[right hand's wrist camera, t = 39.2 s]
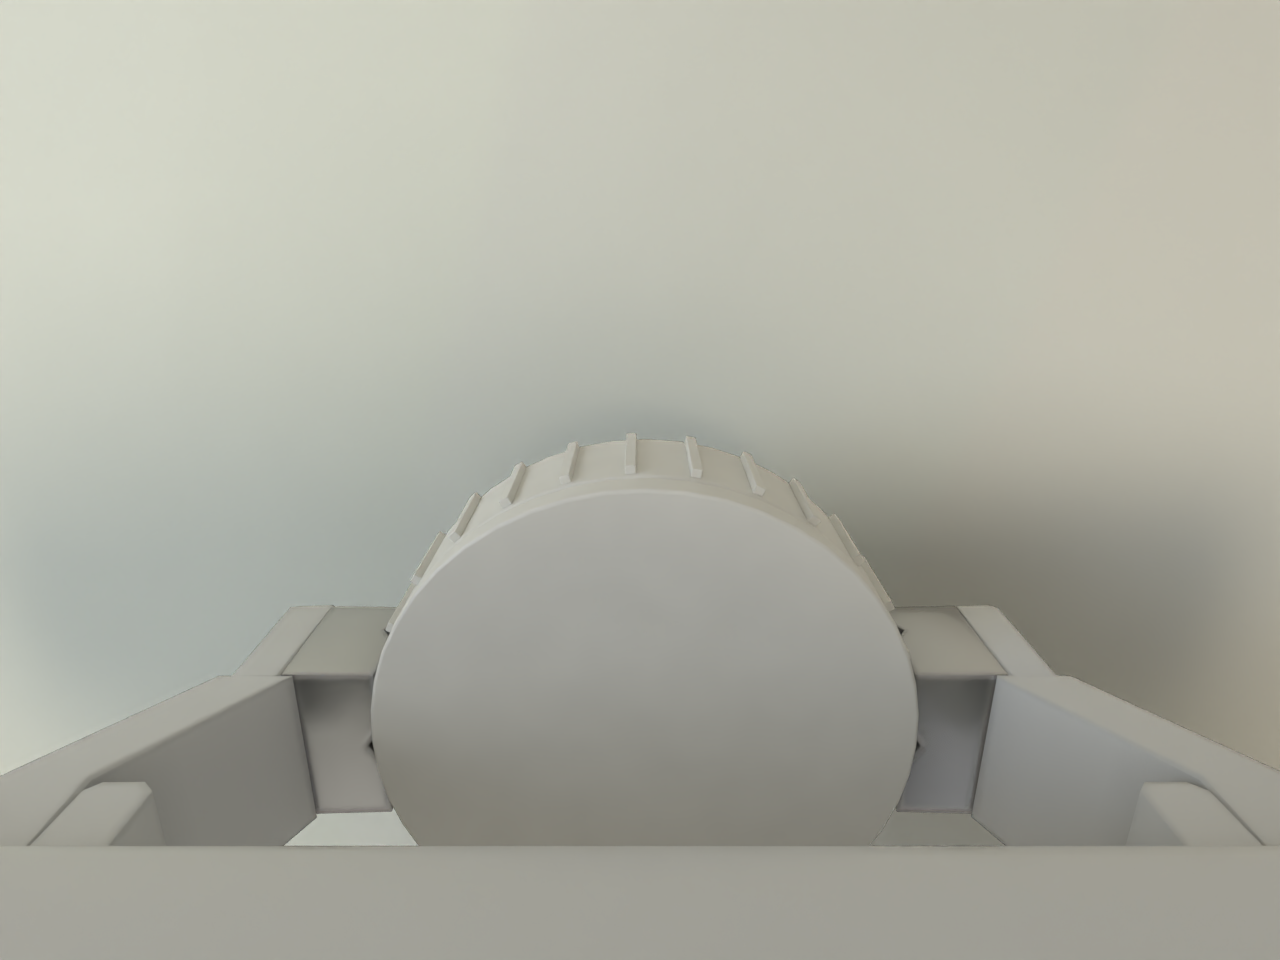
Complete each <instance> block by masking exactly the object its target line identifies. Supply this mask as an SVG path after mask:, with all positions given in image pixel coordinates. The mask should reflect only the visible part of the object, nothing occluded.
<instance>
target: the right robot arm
mask: <svg viewBox="0 0 1280 960" xmlns="http://www.w3.org/2000/svg"><path fill="white" fill-rule="evenodd" d="M396 608H397V607H358V606H337V607H335V606H333V605H323V606H297V607H290V608H289V609H288V611H287V612H286V613H285V614H284V615H283V616H282V618H281V619H280V620H279V621H278V622H277V623H276V625H275V626H274V627H273V628H272V629H271V631H270V632H269V633H268V634H267V635H266V636H265V638H264V639H263V640H262V641H261V642H260V643H259V645H258V646H257V647H256V648H255V649H254V651H253V652H252V653H251V654H250V655H249V656H248V658H247V659H246V660H245V661H244V662H243V663H242V665H241V666H240V667H239V668H238V669H237V670H236V672H235V673H234V674H233V675H232V676H217V677H215V678H213V679H211V680H209V681H206V682H204V683H202V684H200V685H198V686H195V687H193V688H191V689H189V690H187V691H185V692H182V693H180V694H178V695H176V696H174V697H171V698H169V699H167V700H165V701H163V702H161V703H158V704H156V705H154V706H152V707H150V708H147V709H145V710H143V711H141V712H139V713H137V714H134V715H132V716H130V717H128V718H126V719H123V720H121V721H119V722H117V723H115V724H113V725H110V726H108V727H106V728H104V729H102V730H99V731H97V732H95V733H93V734H91V735H89V736H86V737H84V738H82V739H80V740H78V741H75V742H73V743H71V744H69V745H67V746H65V747H62V748H60V749H58V750H56V751H54V752H51V753H49V754H47V755H45V756H43V757H41V758H38V759H36V760H34V761H32V762H30V763H27V764H25V765H23V766H21V767H19V768H17V769H14V770H12V771H10V772H8V773H6V774H3V775H1V776H0V960H1280V771H1278V770H1276V769H1274V768H1272V767H1270V766H1267V765H1265V764H1263V763H1261V762H1259V761H1256V760H1254V759H1252V758H1250V757H1248V756H1245V755H1243V754H1241V753H1239V752H1237V751H1234V750H1232V749H1230V748H1228V747H1226V746H1223V745H1221V744H1219V743H1217V742H1215V741H1212V740H1210V739H1208V738H1206V737H1204V736H1201V735H1199V734H1197V733H1195V732H1193V731H1190V730H1188V729H1186V728H1184V727H1182V726H1179V725H1177V724H1175V723H1173V722H1171V721H1169V720H1166V719H1164V718H1162V717H1160V716H1158V715H1155V714H1153V713H1151V712H1149V711H1147V710H1144V709H1142V708H1140V707H1138V706H1136V705H1133V704H1131V703H1129V702H1127V701H1125V700H1122V699H1120V698H1118V697H1116V696H1114V695H1111V694H1109V693H1107V692H1105V691H1103V690H1100V689H1098V688H1096V687H1094V686H1092V685H1089V684H1087V683H1085V682H1083V681H1081V680H1078V679H1076V678H1074V677H1072V676H1057V675H1056V674H1055V673H1054V672H1053V671H1052V669H1051V668H1050V667H1049V666H1048V665H1047V664H1046V663H1045V661H1044V660H1043V659H1042V658H1041V657H1040V656H1039V655H1038V653H1037V652H1036V651H1035V650H1034V649H1033V648H1032V646H1031V645H1030V644H1029V643H1028V642H1027V641H1026V640H1025V638H1024V637H1023V636H1022V635H1021V634H1020V633H1019V632H1018V630H1017V629H1016V628H1015V627H1014V626H1013V625H1012V623H1011V622H1010V621H1009V620H1008V619H1007V618H1006V617H1005V615H1004V614H1003V613H1002V612H1001V611H1000V610H999V609H998V608H996V607H993V606H991V605H980V606H957V607H955V606H933V607H895V609H894V610H892V611H889V613H890V615H891V617H892V618H893V620H894V622H895V623H896V625H897V628H898V630H899V632H900V635H901V637H902V639H903V641H904V643H905V645H906V647H907V648H908V650H909V652H910V657H911V659H910V661H911V665H912V669H913V673H914V677H915V681H916V687H917V699H918V711H919V718H918V731H917V744H916V749H915V753H914V758H913V762H912V766H911V770H910V775H909V777H908V780H907V782H906V785H905V787H904V790H903V792H902V795H901V797H900V800H899V802H898V804H897V806H896V807H895V808H896V811H897V812H933V813H970V814H972V816H971V817H972V818H973V819H975V820H976V821H977V822H978V823H979V824H981V825H982V826H983V827H984V828H985V829H986V830H988V831H989V832H990V833H991V834H992V835H994V836H995V837H996V838H997V839H998V840H1000V841H1001V842H1002V843H1003V844H1004V845H1005V846H284V845H285V844H286V843H287V842H288V841H290V840H291V839H292V838H293V837H294V836H295V835H297V834H298V833H299V832H300V831H301V830H303V829H304V828H305V827H306V826H307V825H308V824H310V823H311V822H312V821H313V820H314V819H315V818H317V815H316V814H318V813H354V812H389V811H392V809H393V806H392V804H391V802H390V800H389V798H388V795H387V793H386V790H385V787H384V785H383V782H382V779H381V777H380V774H379V771H378V766H377V762H376V757H375V752H374V747H373V743H372V728H371V702H372V693H373V684H374V678H375V674H376V671H377V667H378V663H379V660H380V656H381V652H382V649H383V647H384V645H385V643H386V641H387V638H388V636H389V634H390V632H388V631H386V627H387V624H388V622H389V620H390V619H391V617H392V615H393V614H394V612H395V610H396Z"/></svg>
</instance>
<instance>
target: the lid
mask: <svg viewBox="0 0 1280 960" xmlns="http://www.w3.org/2000/svg"><path fill="white" fill-rule="evenodd" d="M410 582H411V584H410V586H409V588H408V589H407V591H406V593H405V595H404V596H403V598H402V600H401V602H400V603H399V605H398V607H397V608H396V610H395V612H394V614H393V615H392V617H391V619H390V620H389V622H388V624H387V627H386V631H388V632H390V634H389V636H388V638H387V641H386V643H385V645H384V647H383V649H382V652H381V656H380V660H379V663H378V667H377V671H376V674H375V678H374V684H373V693H372V702H371V728H372V743H373V747H374V752H375V757H376V762H377V766H378V771H379V774H380V777H381V779H382V782H383V785H384V787H385V790H386V793H387V795H388V798H389V800H390V802H391V804H392V806H393V807H394V809H395V811H396V813H397V815H398V816H399V818H400V820H401V822H402V824H403V825H404V827H405V828H406V829H407V831H408V832H409V833H410V835H411V836H412V837H413V839H414V840H415V841H416V843H417V844H418V846H870V845H871V844H872V842H873V841H874V840H875V838H876V837H877V836H878V835H879V833H880V832H881V831H882V829H883V828H884V827H885V825H886V823H887V821H888V820H889V818H890V816H891V814H892V813H893V811H894V809H895V807H896V806H897V804H898V802H899V800H900V797H901V795H902V792H903V790H904V787H905V785H906V782H907V780H908V777H909V775H910V770H911V766H912V762H913V758H914V753H915V749H916V744H917V731H918V718H919V711H918V699H917V687H916V681H915V677H914V673H913V669H912V665H911V661H910V659H911V657H910V652H909V650H908V648H907V647H906V645H905V643H904V641H903V639H902V637H901V635H900V632H899V630H898V628H897V625H896V623H895V622H894V620H893V618H892V617H891V615H890V613H889V611H892V610H894V609H895V607H894V605H893V603H892V601H891V599H890V598H889V596H888V594H887V593H886V591H885V590H884V588H883V586H882V585H881V583H880V581H879V580H878V578H877V576H876V575H875V573H874V572H873V570H872V568H871V567H870V565H869V563H868V562H867V560H866V558H865V557H864V556H862V555H861V554H860V552H859V551H858V549H857V547H856V546H855V544H854V542H853V541H852V539H851V537H850V536H849V534H848V532H847V531H846V529H845V527H844V526H843V524H842V522H841V521H840V519H839V518H838V517H837V516H836V514H833V515H831V516H830V517H829V518H828V517H827V515H826V514H825V513H824V512H823V511H822V510H821V509H820V508H819V507H818V506H817V505H816V504H815V503H813V502H812V501H811V500H810V499H809V497H808V496H807V494H806V492H805V490H804V488H803V487H802V485H801V483H800V482H799V481H798V480H796V479H795V478H793V479H792V480H791V481H790V482H789V483H788V482H786V481H785V480H783V479H782V478H780V477H779V476H777V475H776V474H774V473H773V472H771V471H769V470H767V469H765V468H763V467H761V466H759V465H756V464H755V462H754V460H753V457H752V455H751V454H749V453H746V452H742V454H741V456H740V457H738V456H735V455H732V454H729V453H726V452H723V451H720V450H717V449H714V448H710V447H705V446H700V445H697V442H696V438H695V437H689V436H686V439H685V442H680V441H666V440H652V439H639V440H637V437H636V433H627V434H626V440H621V441H610V442H604V443H599V444H593V445H588V446H582V447H579V445H578V442H577V441H576V442H572V443H569V444H568V446H567V450H566V451H565V452H562V453H559V454H556V455H553V456H550V457H547V458H545V459H543V460H541V461H539V462H536V463H534V464H532V465H530V466H528V467H526V466H525V464H524V463H523V462H520V463H519V464H517V465H515V466H514V469H513V471H512V473H511V475H510V477H508V478H507V479H505V480H504V481H502V482H500V483H499V484H497V485H496V486H494V487H493V488H491V489H490V490H489V491H488V492H487V493H485V494H484V495H483V496H482V497H480V496H479V495H478V494H477V493H474V494H473V495H472V496H471V497H470V498H469V500H468V502H467V503H466V505H465V507H464V509H463V511H462V512H461V514H460V516H459V518H458V520H457V522H456V523H455V524H454V525H453V526H452V527H451V528H450V530H449V531H448V532H447V534H446V535H445V534H444V533H442V532H441V531H440V532H439V533H438V534H437V536H436V537H435V539H434V540H433V542H432V544H431V545H430V547H429V549H428V551H427V552H426V554H425V556H424V557H423V559H422V561H421V562H420V564H419V566H418V568H417V569H416V571H415V573H414V574H413V576H412V578H411V579H410Z"/></svg>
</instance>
